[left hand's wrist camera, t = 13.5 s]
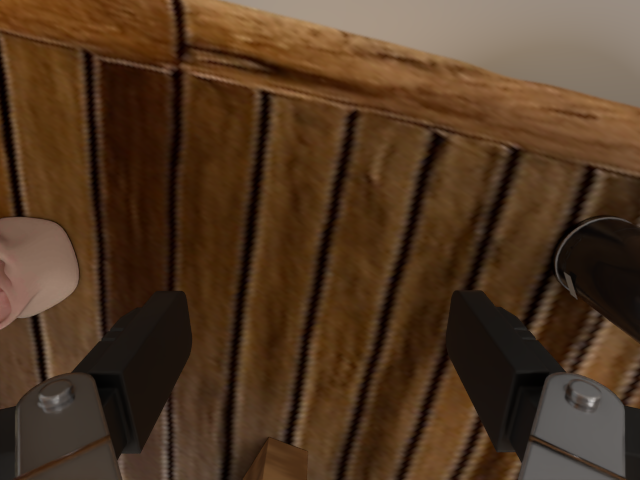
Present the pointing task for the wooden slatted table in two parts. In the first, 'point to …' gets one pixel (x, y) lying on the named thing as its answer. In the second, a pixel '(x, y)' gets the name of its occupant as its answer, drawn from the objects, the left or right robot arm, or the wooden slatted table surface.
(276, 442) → the box
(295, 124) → the wooden slatted table surface
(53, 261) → the anatomical model
